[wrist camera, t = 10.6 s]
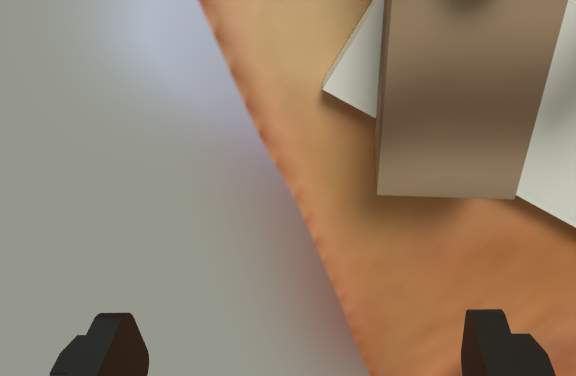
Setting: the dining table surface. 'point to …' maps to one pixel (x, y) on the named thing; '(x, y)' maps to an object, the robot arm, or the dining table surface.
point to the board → (548, 127)
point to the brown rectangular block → (460, 94)
